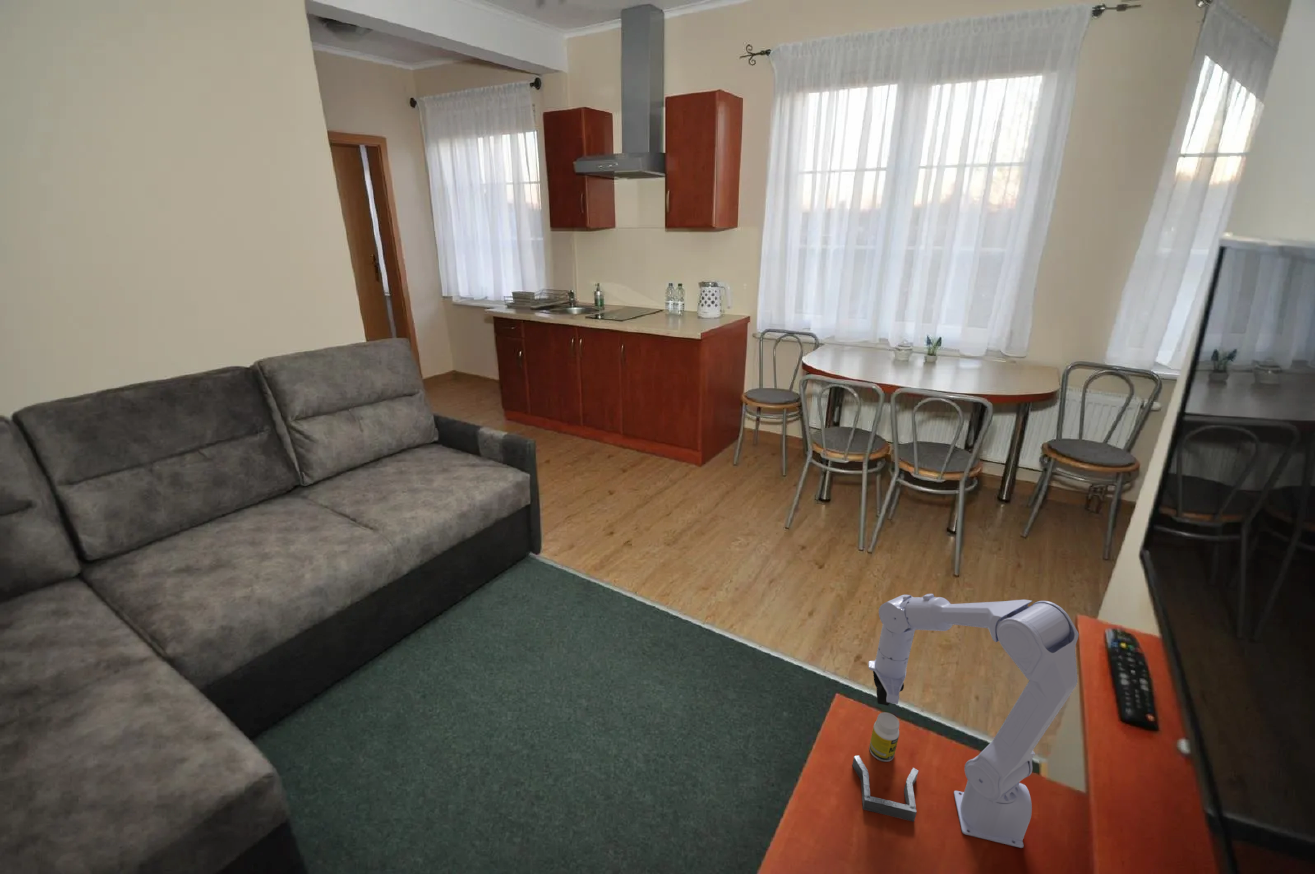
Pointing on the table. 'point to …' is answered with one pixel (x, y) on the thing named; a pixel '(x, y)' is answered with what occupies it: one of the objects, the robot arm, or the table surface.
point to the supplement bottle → (884, 737)
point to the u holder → (883, 805)
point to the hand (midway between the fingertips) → (882, 702)
